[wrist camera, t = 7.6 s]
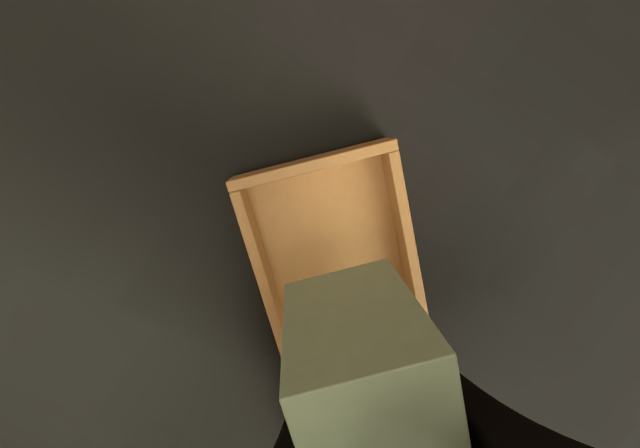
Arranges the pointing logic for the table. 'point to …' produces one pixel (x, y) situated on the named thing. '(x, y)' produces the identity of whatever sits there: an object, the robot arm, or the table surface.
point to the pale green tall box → (367, 365)
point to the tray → (325, 219)
